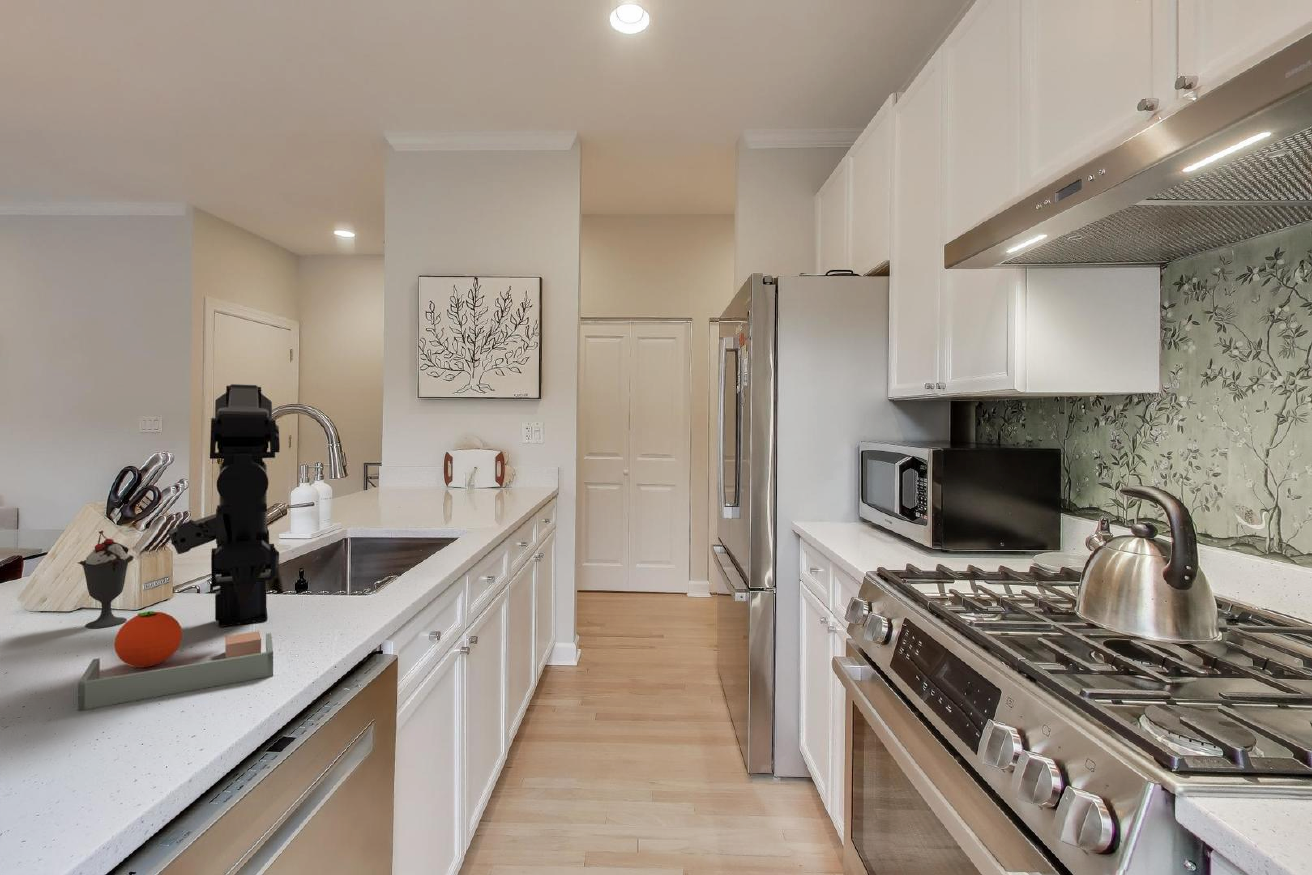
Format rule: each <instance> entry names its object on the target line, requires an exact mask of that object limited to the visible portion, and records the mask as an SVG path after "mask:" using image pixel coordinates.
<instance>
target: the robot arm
mask: <svg viewBox="0 0 1312 875" xmlns="http://www.w3.org/2000/svg"><path fill="white" fill-rule="evenodd" d="M276 422H277V421H276V420H275V419H274V418H273V403H272V400H270V399H269V398H267V397H266V396H265V395H264V394H263V393H262V386H259V385H257V384H239V383H238V384H237V383H235V384H234V383H231V384H230V385H226V391H225V393H224V394H222V395H220V396H219V397H217V399H215V403H214V417H211V418H210V441H209V442H210V443H209V459H210V460H215V459H216V460H218V459H219V460H220V459H222V460H223V461H222V462H221V464H220V465H219V472H218V473H219V474H218V477H217V480H216V490H217V492H218V496H219V500H218V501H219V504H218V505H217V506H216V510H215V511H216V512H215V513H214V514H211V515H208V516H205V517H202V518H199V519H196V520H193V519H189V520H187V521H185V522H182V523H181V522H180V523H178V524H177V527H174V528H171V529H170V530H169V532H168V533H167V535H168V537H169V539H170V544H171V545H172V546H173V547H174V549H175V551H176V554H177V555H182V554H185V553H187V552H190V550H191V549H195V548H198V547H201V546H203V545H205V544H207V543H211V542H213V541H215V544H216V547H212V548H211V552H210V553H211V554H210V555H211V557H210V558H211V559H210V562H211V563H210V564H211V565H210V566H211V567H210V568H211V588H216V587H219V590H216V591H215V594H214V595H215V596H214V597H215V598H214V600H215V601H214V604H215V606H214V609H215V610H214V611H215V612H214V614H215V615H214V617H215V618H214V620H215V621H216V622H217V621H218V627H220V628H221V627H227V626H228V627H229V626H234V625H235V626H236V625H242V624H243V625H244V624H251V623H257V622H264V621H267V620H268V619H269V618H268V617H269V616H268V610H267V608H268V607H267V606H268V605H267V599H268V598H267V594H268V590H267V584H268V583H267V582H269V581H270V582H274V581H275V580H276V579H279V574H280V573H279V571H280V568H279V566H280V560H279V559H280V551H278V550H277V549H276V547H275V543H270V530H269V529H268V525H267V512H268V503H267V491H268V489H269V484H270V483H269V477H268V475H267V464H266V462H265V461H264V460H263V459H276V453H280V444H281V443H280V426H279V425H278V424H277V423H276ZM216 445H217V446H216ZM216 449H217V450H218V452H216V451H217V450H216ZM268 450H269V451H268ZM267 570H269V571H267ZM218 575H219V576H218Z"/></svg>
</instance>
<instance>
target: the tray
mask: <svg viewBox="0 0 1312 875" xmlns="http://www.w3.org/2000/svg"><path fill="white" fill-rule="evenodd" d="M273 648H274V647H273V637H272V632H269V633H265V652H261V653H257V654H251V655H245V656H239V657H232V658H226V657H225V658H221V659H214V660H208V661H203V662H202V661H201V662H195V663H191V664H189V663H188V664H182V665H177V666H170V667H165V668H159V669H153V670H147V671H140V672H134V673H133V672H132V673H128V674H119V675H115V676H110V677H109V676H108V677H103V678H101V668H100V666H101V657H100V658H99V657H98V658H93V659H92V661H91V662H90V663H89V666H88V667H87V668H86V670H85V671H84V673H83V675H82V677H80V680H79V681H78V683H77V711H79V712H80V711H83V710H89V709H90V710H91V709H95V708H101V707H107V706H112V705H117V704H122V703H129V702H134V701H139V700H140V701H141V700H145V699H151V698H157V697H162V696H167V695H173V694H177V693H179V694H180V693H184V692H190V691H195V690H201V689H205V688H213V687H218V686H223V685H228V684H234V683H240V682H245V681H246V682H247V681H250V680H257V679H262V678H268V677H273V676H274V649H273Z"/></svg>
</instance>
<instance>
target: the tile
mask: <svg viewBox="0 0 1312 875" xmlns="http://www.w3.org/2000/svg"><path fill="white" fill-rule="evenodd" d="M224 638H225V639H224V640H225V641H224V642H225V643H224V644H225V645H224V648H225V650H224V656H225V659H226V658H232V657H239V656H245V655H251V654H257V653H262V637H261V633H260V631H259V630H257V631H251V632H244V633H237V634H231V635H226V636H225V637H224Z"/></svg>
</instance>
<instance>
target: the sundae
mask: <svg viewBox="0 0 1312 875" xmlns="http://www.w3.org/2000/svg"><path fill="white" fill-rule="evenodd" d="M98 534H99V536H98V541H97V544H96V545H95V546H94V549H93V550H92V552H90V553H89V555H88V556H87V557H86V559H85V560H80V561H78V562H77V564H78V565H81V566H82V568H83V571H84V576H85V581H86V587H87V591H88V595H89V597H91V598H92V599H93V600H95V601H97V602H100V604H101V610H100V614H99V616H98V618H97V619H95V620H93V621H90V622H87V623H86V624H85V625H84V627H85V628H87V629H104V628H110V627H115V626H118V625H122V624H123V623H124V624H125V623H126V622H128V619H127V618H126V617H121V616H115V615H114V613H113V610H112V602H113V601H114V600H115V599H116V598H118V597H119V596H120V595H121V594H122V593H123V591H124V586H125V583H126V577H127V569H128V565H129V563H131V562H132V561H133V560H134V556H133V555H131V554H129V553H128V552H129V550H130V549H129V547H127V546H125V545H123V544H122V543H119V542H115V541H114V539H113V538H107V537H106V536H105V535H104V530H100V531H98ZM101 536H102V537H103V538H104V539H105V540H104V541H103V542H101ZM100 542H101V543H100Z"/></svg>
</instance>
